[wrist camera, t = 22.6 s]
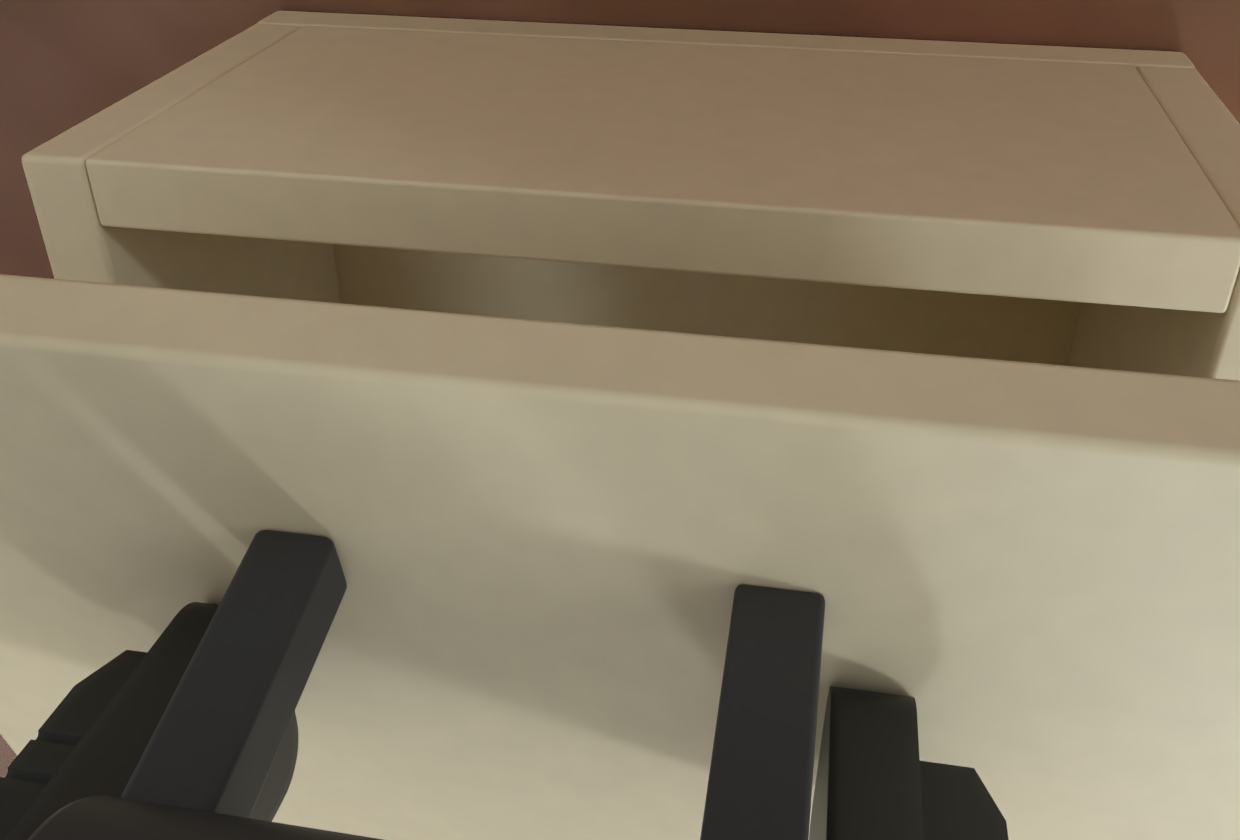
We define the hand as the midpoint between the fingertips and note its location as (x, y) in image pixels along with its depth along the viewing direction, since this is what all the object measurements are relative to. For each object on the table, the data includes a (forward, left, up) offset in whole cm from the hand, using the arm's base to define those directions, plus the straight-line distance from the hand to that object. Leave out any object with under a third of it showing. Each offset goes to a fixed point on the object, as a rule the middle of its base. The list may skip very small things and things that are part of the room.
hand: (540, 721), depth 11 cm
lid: (+4, 0, -2) cm, 4 cm away
